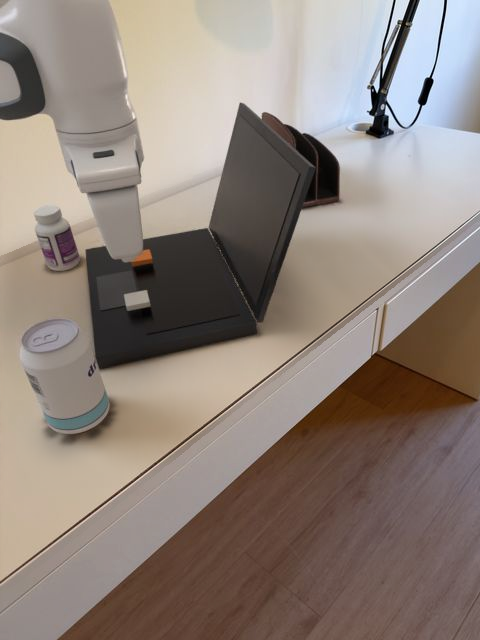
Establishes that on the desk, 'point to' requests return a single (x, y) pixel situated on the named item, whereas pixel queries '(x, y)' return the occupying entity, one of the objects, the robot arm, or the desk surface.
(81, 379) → the beverage can
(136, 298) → the white flat square block
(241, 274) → the laptop screen
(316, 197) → the letter holder
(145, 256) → the orange block
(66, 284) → the desk surface
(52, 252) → the pill bottle
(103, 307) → the laptop
